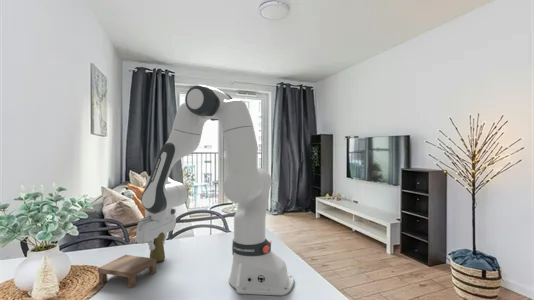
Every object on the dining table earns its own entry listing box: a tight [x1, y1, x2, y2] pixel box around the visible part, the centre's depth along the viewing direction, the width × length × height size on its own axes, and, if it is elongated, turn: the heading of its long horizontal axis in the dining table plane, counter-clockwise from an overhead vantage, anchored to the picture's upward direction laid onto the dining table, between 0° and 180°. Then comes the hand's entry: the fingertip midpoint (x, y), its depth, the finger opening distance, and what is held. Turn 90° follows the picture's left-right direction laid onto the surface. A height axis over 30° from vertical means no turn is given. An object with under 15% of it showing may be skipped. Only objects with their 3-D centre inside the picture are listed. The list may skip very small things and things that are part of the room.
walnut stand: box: [97, 254, 158, 289], centre depth 95 cm, size 14×12×5 cm
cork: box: [149, 232, 166, 262], centre depth 109 cm, size 6×6×11 cm
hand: (157, 247), depth 109 cm, fingers closed on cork, 4 cm apart
